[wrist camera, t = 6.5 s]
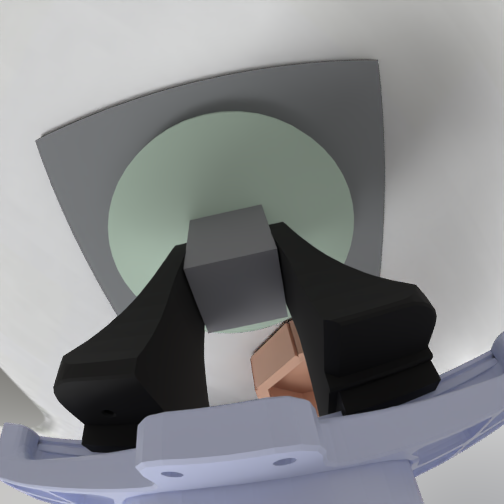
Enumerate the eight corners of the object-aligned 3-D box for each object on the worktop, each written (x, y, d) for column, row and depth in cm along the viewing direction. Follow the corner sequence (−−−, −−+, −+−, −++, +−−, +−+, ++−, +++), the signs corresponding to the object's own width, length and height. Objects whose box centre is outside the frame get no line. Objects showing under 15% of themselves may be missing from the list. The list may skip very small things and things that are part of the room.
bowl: (264, 400, 25) (269, 429, 23) (241, 327, 20) (246, 365, 17) (372, 372, 25) (384, 398, 23) (387, 292, 20) (406, 322, 17)
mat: (131, 330, 19) (130, 336, 18) (40, 138, 12) (35, 140, 11) (375, 278, 19) (378, 283, 18) (372, 59, 12) (377, 59, 11)
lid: (160, 337, 17) (153, 399, 14) (79, 153, 11) (30, 189, 8) (348, 297, 17) (377, 353, 14) (337, 92, 11) (389, 103, 8)
